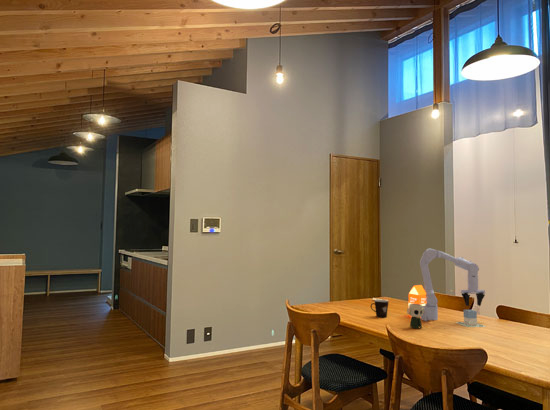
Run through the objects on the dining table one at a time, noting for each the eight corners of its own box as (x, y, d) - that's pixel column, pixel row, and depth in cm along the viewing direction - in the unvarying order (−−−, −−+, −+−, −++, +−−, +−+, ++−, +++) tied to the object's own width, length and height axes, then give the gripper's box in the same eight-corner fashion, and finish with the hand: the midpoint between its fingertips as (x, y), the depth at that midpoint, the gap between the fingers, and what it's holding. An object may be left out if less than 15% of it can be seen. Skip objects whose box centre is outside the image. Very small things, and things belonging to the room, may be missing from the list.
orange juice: (408, 316, 266) (408, 284, 267) (416, 314, 271) (416, 284, 273) (419, 318, 260) (418, 286, 261) (427, 316, 265) (426, 285, 267)
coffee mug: (387, 315, 266) (387, 300, 267) (389, 318, 257) (389, 302, 258) (368, 315, 267) (369, 299, 268) (370, 317, 259) (370, 301, 259)
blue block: (468, 318, 237) (468, 311, 237) (463, 316, 242) (463, 309, 242) (476, 318, 238) (476, 311, 238) (471, 316, 243) (471, 309, 243)
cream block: (469, 325, 236) (469, 318, 237) (464, 323, 241) (463, 316, 242) (477, 325, 237) (477, 318, 237) (471, 323, 242) (471, 316, 242)
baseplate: (467, 328, 233) (466, 325, 233) (455, 324, 244) (455, 321, 244) (486, 328, 234) (486, 325, 234) (473, 323, 246) (473, 321, 246)
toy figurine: (411, 330, 227) (411, 306, 228) (403, 327, 234) (403, 303, 235) (428, 329, 230) (428, 305, 231) (420, 326, 237) (420, 303, 238)
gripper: (465, 283, 245) (465, 306, 244) (488, 283, 247) (488, 306, 246) (458, 282, 252) (459, 304, 251) (480, 282, 254) (481, 304, 253)
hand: (473, 305), depth 249 cm, fingers open, 7 cm apart
